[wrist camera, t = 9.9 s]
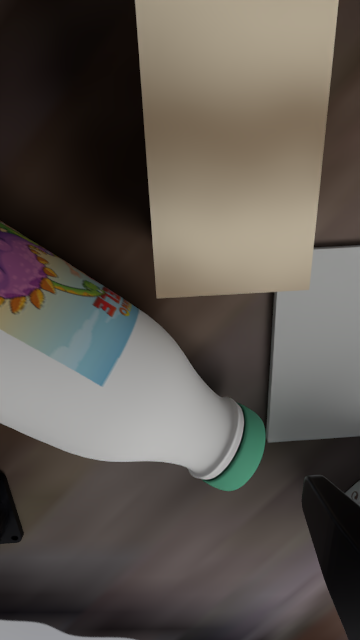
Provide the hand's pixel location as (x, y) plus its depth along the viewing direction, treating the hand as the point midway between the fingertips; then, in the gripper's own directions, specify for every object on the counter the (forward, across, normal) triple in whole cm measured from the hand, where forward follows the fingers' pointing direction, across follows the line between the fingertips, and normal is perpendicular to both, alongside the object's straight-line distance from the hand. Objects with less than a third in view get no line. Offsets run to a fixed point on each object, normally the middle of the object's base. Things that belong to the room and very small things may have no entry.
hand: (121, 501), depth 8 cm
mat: (+12, -12, +3) cm, 18 cm away
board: (+8, -4, -8) cm, 12 cm away
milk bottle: (+9, +11, -5) cm, 15 cm away
